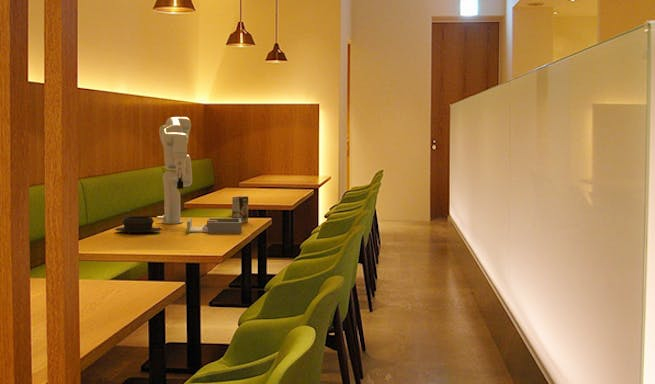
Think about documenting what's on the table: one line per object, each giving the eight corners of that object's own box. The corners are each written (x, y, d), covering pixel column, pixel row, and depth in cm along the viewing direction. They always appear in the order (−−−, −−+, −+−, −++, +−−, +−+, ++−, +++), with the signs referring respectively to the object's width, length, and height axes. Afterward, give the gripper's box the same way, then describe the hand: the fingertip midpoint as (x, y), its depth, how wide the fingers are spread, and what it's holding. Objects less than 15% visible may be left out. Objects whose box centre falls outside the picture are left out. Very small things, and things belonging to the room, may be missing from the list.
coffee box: (240, 223, 448) (240, 197, 447) (231, 223, 451) (231, 196, 449) (248, 222, 456) (248, 196, 455) (239, 221, 459) (239, 195, 458)
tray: (186, 232, 404) (186, 221, 404) (189, 227, 424) (189, 217, 424) (222, 232, 407) (222, 221, 406) (223, 227, 427) (223, 217, 426)
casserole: (165, 231, 413) (165, 216, 412) (155, 235, 395) (154, 220, 394) (122, 229, 415) (122, 215, 415) (109, 234, 397) (109, 219, 396)
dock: (207, 233, 406) (207, 222, 405) (209, 228, 425) (209, 218, 425) (241, 233, 408) (241, 222, 408) (241, 228, 428) (241, 218, 427)
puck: (206, 229, 413) (206, 221, 412) (207, 227, 418) (207, 219, 418) (217, 229, 413) (217, 221, 413) (217, 227, 419) (217, 220, 419)
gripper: (186, 156, 403) (186, 189, 405) (187, 155, 418) (187, 187, 420) (172, 156, 402) (172, 189, 404) (174, 155, 417) (174, 187, 419)
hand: (180, 188), depth 412 cm, fingers closed
